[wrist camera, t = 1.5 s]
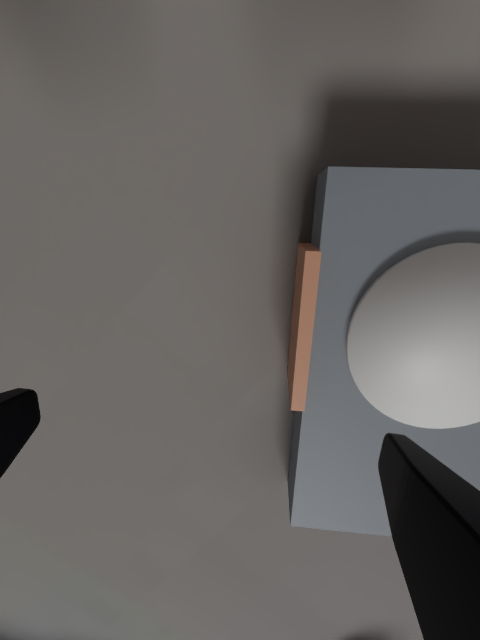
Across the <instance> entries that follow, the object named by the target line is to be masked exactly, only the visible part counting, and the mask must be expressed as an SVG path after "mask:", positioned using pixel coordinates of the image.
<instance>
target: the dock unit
mask: <svg viewBox="0 0 480 640" xmlns="http://www.w3.org/2000/svg"><path fill="white" fill-rule="evenodd" d="M287 376H288V386H289V396H290V407H291V410H292V411H295V412H294V423H293V433H292V443H291V454H290V464H289V475H288V494H289V511H290V526H295V527H305V528H314V529H324V530H333V531H343V532H352V533H362V534H371V535H381V536H390V537H392V534H391V530H390V526H389V521H388V516H387V511H386V506H385V501H384V496H383V491H382V486H381V481H380V476H379V471H378V460H379V456H380V451H381V447H382V443H383V439H384V436H385V434H387V433H396V434H403V435H405V436H407V437H408V438H410V439H411V440H412V441H414V442H415V443H416V444H418V445H419V446H420V447H422V448H423V449H424V450H426V451H427V452H428V453H430V454H431V455H432V456H434V457H435V458H436V459H438V460H439V461H441V462H442V463H443V464H445V465H446V466H447V467H449V468H450V469H451V470H453V471H454V472H455V473H457V474H458V475H459V476H461V477H462V478H463V479H465V480H466V481H467V482H469V483H470V484H471V485H473V486H474V487H475V488H477V489H478V490H479V491H480V170H473V169H426V168H379V167H331V166H328V167H327V168H326V169H324V170H323V171H322V172H321V173H319V174H318V175H317V184H316V194H315V205H314V215H313V225H312V236H311V243H298V251H297V263H296V275H295V286H294V298H293V310H292V322H291V334H290V346H289V358H288V369H287Z"/></svg>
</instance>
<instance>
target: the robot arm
mask: <svg viewBox="0 0 480 640" xmlns="http://www.w3.org/2000/svg"><path fill="white" fill-rule="evenodd" d="M40 417H41V416H40V409H39V403H38V397H37V393H36V392H35V391H34V390H31V389H23V388H17V389H13V390H10V391H6V392H3V393H0V478H1V477H2V475H3V474H4V473H5V471H6V470H7V469H8V467H9V466H10V464H11V463H12V462H13V460H14V459H15V457H16V456H17V455H18V453H19V452H20V450H21V449H22V448H23V446H24V445H25V443H26V442H27V441H28V439H29V438H30V436H31V435H32V433H33V432H34V431H35V429H36V428H37V426H38V425H39V422H40ZM378 471H379V476H380V481H381V486H382V491H383V496H384V501H385V506H386V511H387V516H388V521H389V526H390V530H391V534H392V538H393V542H394V545H395V549H396V552H397V555H398V558H399V561H400V565H401V568H402V571H403V574H404V577H405V581H406V584H407V587H408V590H409V593H410V597H411V600H412V603H413V606H414V609H415V613H416V616H417V619H418V622H419V625H420V629H421V632H422V635H423V638H424V640H480V491H479V490H478V489H477V488H475V487H474V486H473V485H471V484H470V483H469V482H467V481H466V480H465V479H463V478H462V477H461V476H459V475H458V474H457V473H455V472H454V471H453V470H451V469H450V468H449V467H447V466H446V465H445V464H443V463H442V462H441V461H439V460H438V459H436V458H435V457H434V456H432V455H431V454H430V453H428V452H427V451H426V450H424V449H423V448H422V447H420V446H419V445H418V444H416V443H415V442H414V441H412V440H411V439H410V438H408V437H407V436H405V435H403V434H396V433H387V434H385V436H384V439H383V443H382V447H381V451H380V456H379V460H378Z"/></svg>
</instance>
